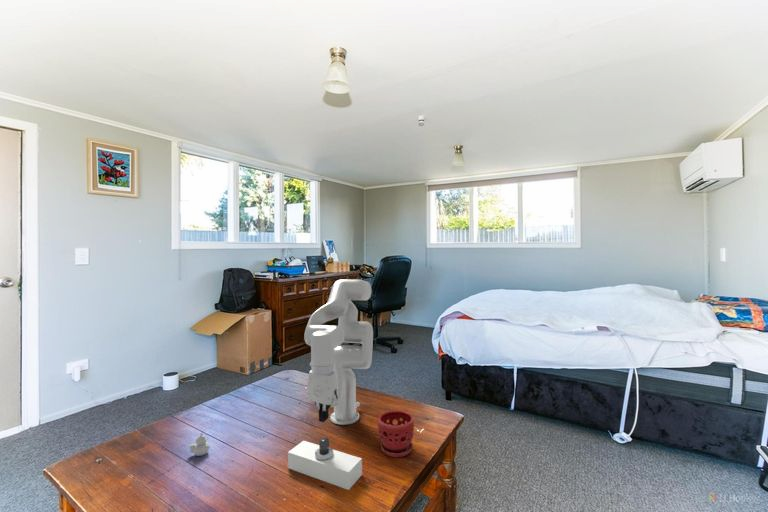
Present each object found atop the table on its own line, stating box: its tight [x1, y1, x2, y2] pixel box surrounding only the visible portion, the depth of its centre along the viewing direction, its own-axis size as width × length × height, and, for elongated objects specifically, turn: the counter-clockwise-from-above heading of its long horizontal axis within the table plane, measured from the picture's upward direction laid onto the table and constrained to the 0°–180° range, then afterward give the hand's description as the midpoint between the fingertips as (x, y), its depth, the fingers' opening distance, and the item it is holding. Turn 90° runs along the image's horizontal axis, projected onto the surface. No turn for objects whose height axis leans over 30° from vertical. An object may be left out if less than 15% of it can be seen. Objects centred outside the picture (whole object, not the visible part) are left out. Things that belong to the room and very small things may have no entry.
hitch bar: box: [287, 440, 363, 491], centre depth 114 cm, size 8×24×5 cm, turn 63°
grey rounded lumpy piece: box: [188, 432, 211, 457], centre depth 124 cm, size 5×7×8 cm
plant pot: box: [377, 410, 415, 458], centre depth 126 cm, size 13×13×12 cm
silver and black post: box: [315, 437, 334, 461], centre depth 114 cm, size 6×6×10 cm
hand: (323, 419), depth 118 cm, fingers closed
